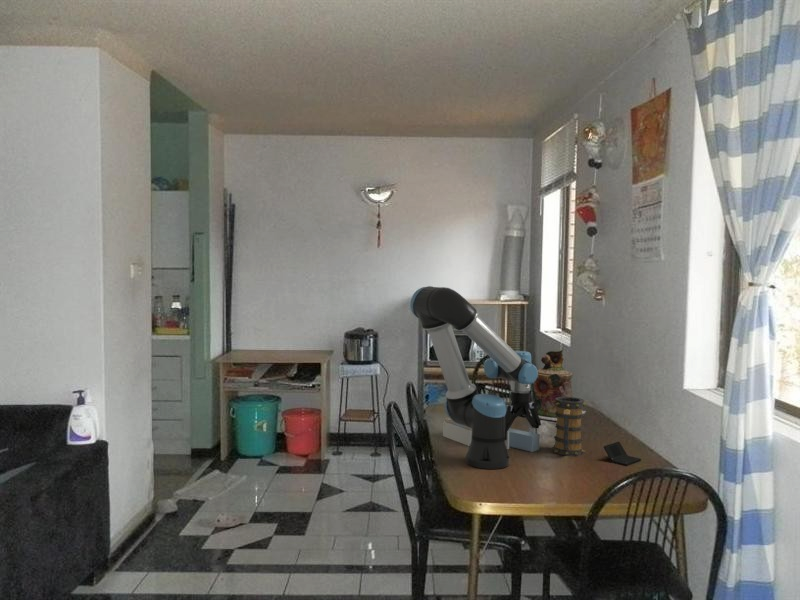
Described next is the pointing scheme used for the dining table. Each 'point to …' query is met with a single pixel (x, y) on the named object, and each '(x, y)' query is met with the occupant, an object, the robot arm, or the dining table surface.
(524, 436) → the blue-gray rectangular block
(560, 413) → the mug
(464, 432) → the stand
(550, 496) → the dining table surface
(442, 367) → the robot arm
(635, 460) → the handheld gaming console
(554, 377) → the cookie jar
